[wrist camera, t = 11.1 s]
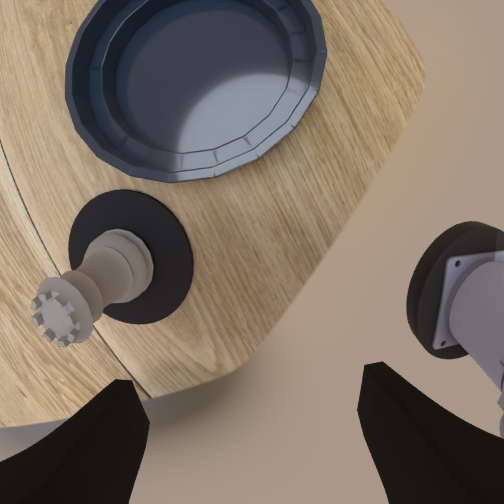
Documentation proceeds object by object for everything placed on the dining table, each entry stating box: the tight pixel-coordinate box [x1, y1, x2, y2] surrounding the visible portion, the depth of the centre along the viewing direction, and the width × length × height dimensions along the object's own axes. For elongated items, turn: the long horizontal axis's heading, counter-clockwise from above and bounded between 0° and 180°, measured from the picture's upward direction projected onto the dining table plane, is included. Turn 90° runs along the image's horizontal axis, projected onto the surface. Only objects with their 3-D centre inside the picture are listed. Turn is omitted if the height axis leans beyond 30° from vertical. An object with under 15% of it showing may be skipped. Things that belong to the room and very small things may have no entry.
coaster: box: [68, 190, 193, 324], centre depth 18 cm, size 9×9×1 cm
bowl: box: [65, 0, 327, 183], centre depth 13 cm, size 13×13×4 cm
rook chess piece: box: [30, 229, 153, 347], centre depth 14 cm, size 4×4×8 cm
